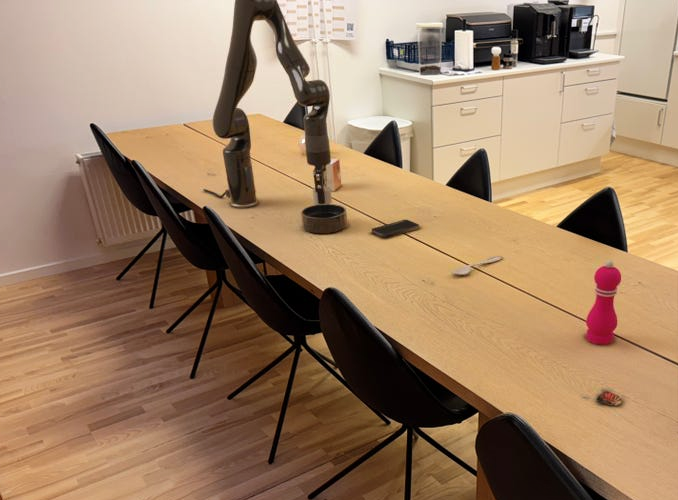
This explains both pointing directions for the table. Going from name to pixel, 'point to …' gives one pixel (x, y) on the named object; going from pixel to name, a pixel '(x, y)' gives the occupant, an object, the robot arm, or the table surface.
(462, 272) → the spoon
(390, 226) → the phone
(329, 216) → the bowl
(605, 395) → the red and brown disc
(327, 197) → the grey short cylinder
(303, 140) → the potion bottle
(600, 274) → the pepper mill
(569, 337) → the table surface
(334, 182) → the small box
